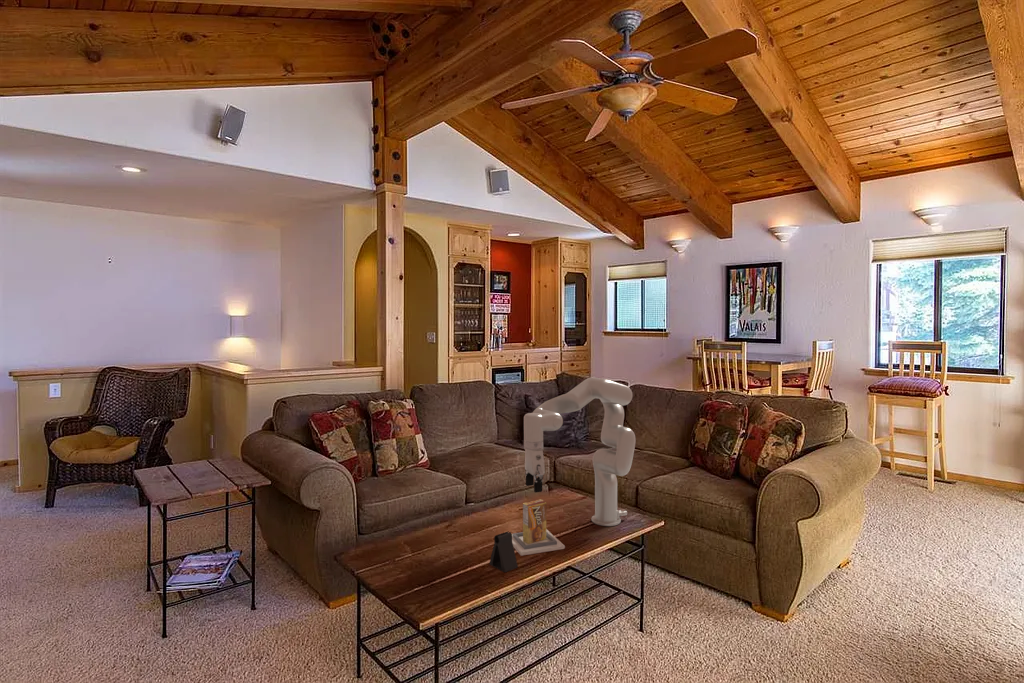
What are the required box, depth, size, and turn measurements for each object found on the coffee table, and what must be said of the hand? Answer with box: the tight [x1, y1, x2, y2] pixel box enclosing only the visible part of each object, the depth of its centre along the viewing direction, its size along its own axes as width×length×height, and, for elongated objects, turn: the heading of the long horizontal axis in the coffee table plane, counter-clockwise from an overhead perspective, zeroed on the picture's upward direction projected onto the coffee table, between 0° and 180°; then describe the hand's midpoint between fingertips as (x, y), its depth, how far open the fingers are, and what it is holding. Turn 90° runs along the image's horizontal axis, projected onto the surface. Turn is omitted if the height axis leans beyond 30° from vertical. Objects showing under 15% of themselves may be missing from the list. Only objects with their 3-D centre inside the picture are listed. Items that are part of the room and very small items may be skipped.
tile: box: [511, 528, 566, 557], centre depth 232 cm, size 18×18×2 cm
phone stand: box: [488, 531, 519, 573], centre depth 212 cm, size 9×6×12 cm, turn 40°
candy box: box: [522, 498, 547, 544], centre depth 232 cm, size 9×4×15 cm, turn 124°
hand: (533, 488), depth 231 cm, fingers open, 8 cm apart
